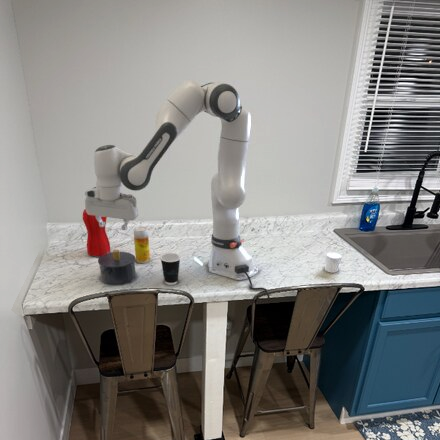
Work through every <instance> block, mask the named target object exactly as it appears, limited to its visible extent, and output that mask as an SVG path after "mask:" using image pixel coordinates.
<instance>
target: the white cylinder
mask: <svg viewBox="0 0 440 440" xmlns="http://www.w3.org/2000/svg"><path fill="white" fill-rule="evenodd" d="M324 256H325V257H324V258H325V259H324V271H325V272H327V273H337V272H338V270H339V268H340V264H341V261H342V257H343V256H342V254H340V253H339V252H333V251H330V252H326V253H325V255H324Z"/></svg>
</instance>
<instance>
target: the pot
mask: <svg viewBox="0 0 440 440" xmlns="http://www.w3.org/2000/svg"><path fill="white" fill-rule="evenodd" d="M99 271H100V279H101V281H102V282H103V283H104V284H107V285H112V286H113V285H114V286H120V285H125V284H129V283H131V282H133V281H134V280H135V279H136V277H137V272H136V261H135V262H134V263H133V264H131V265H129V266H126V267H122V268H107V267H103V266H101V265H99Z"/></svg>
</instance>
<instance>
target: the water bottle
mask: <svg viewBox="0 0 440 440" xmlns="http://www.w3.org/2000/svg"><path fill="white" fill-rule="evenodd" d="M107 218H108V217H101V219H102V221H103V222H105V227H100V226H99V222H98V221H97V219H96V216H94V215H88V214H87V212H86V209H83V212H82V221H83V224H84V225H85V229H86V231H87V236H86V237H87V238H86V252H87V255H89V256H91V257H101V256H102V255H104V254H107V253H111V244H110V240H109V238H108V233H107V231H106V225H107Z"/></svg>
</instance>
